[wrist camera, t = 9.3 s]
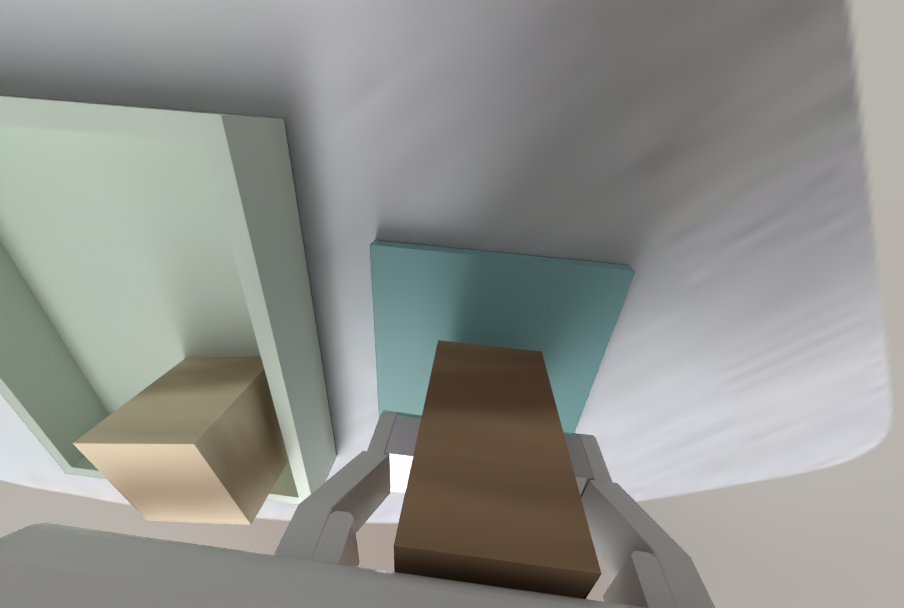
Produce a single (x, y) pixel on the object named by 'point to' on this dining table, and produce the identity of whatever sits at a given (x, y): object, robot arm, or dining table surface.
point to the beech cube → (194, 443)
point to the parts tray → (152, 269)
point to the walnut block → (494, 479)
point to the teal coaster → (490, 316)
